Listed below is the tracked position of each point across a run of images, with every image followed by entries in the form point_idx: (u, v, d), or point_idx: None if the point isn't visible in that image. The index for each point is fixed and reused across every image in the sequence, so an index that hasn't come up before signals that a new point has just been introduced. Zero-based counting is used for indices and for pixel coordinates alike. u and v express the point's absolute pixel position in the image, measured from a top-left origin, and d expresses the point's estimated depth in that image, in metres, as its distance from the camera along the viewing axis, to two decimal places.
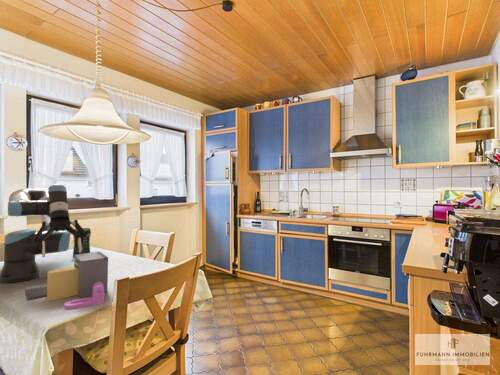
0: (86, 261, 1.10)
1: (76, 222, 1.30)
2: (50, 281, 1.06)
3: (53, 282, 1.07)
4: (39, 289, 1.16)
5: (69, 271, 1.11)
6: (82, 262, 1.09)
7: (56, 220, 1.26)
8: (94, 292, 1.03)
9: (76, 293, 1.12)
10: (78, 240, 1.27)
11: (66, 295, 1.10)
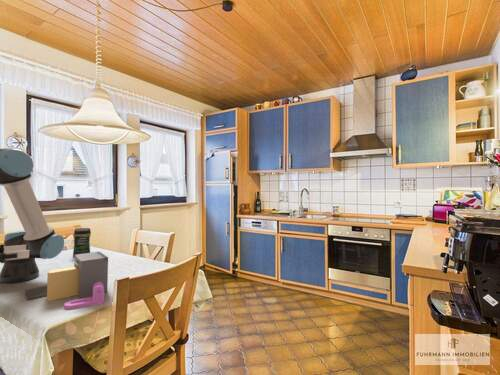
0: (86, 261, 1.10)
1: None
2: (50, 281, 1.06)
3: (53, 282, 1.07)
4: (39, 289, 1.16)
5: (69, 271, 1.11)
6: (82, 262, 1.09)
7: None
8: (94, 292, 1.03)
9: (76, 293, 1.12)
10: None
11: (66, 295, 1.10)
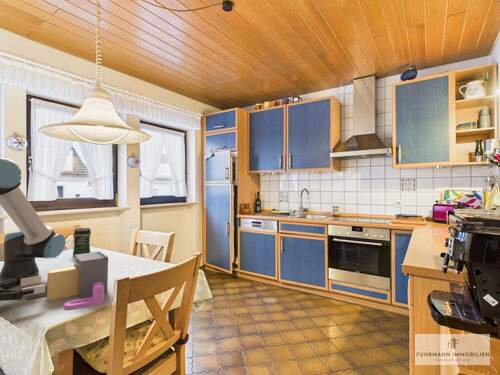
0: (86, 261, 1.10)
1: None
2: (50, 281, 1.06)
3: (53, 282, 1.07)
4: None
5: (69, 271, 1.11)
6: (82, 262, 1.09)
7: None
8: (94, 292, 1.03)
9: (76, 293, 1.12)
10: None
11: (66, 295, 1.10)
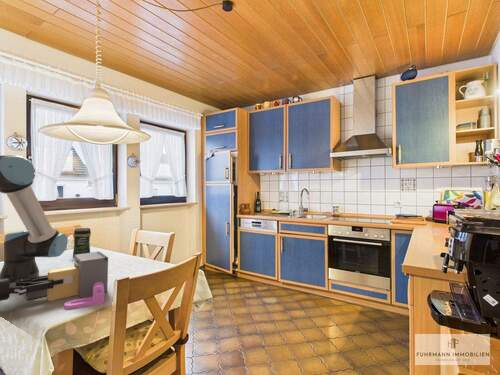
0: (86, 261, 1.10)
1: None
2: None
3: None
4: None
5: (69, 271, 1.11)
6: (82, 262, 1.09)
7: None
8: (94, 292, 1.03)
9: (76, 293, 1.12)
10: None
11: (66, 295, 1.10)
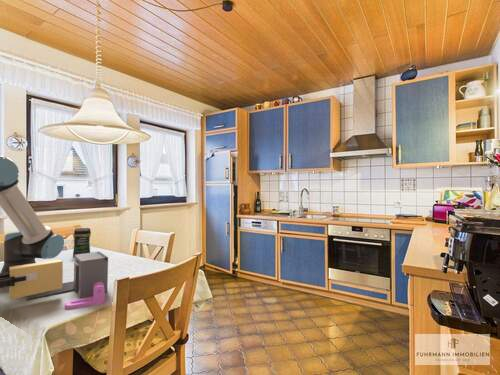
0: (86, 261, 1.10)
1: None
2: None
3: None
4: None
5: (33, 267, 1.03)
6: (82, 262, 1.09)
7: None
8: (94, 292, 1.03)
9: (42, 290, 1.05)
10: None
11: (30, 293, 1.02)
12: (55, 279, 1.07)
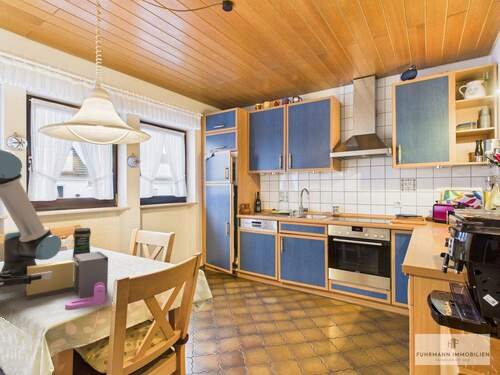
0: (86, 261, 1.10)
1: None
2: None
3: None
4: None
5: (48, 266, 1.14)
6: (82, 262, 1.09)
7: None
8: (95, 292, 1.03)
9: (55, 288, 1.16)
10: None
11: (45, 290, 1.13)
12: (67, 277, 1.18)
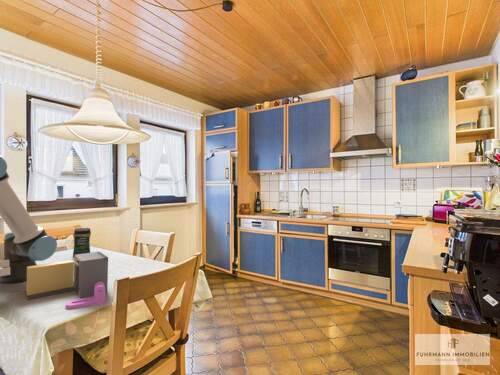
0: (86, 261, 1.10)
1: None
2: (29, 276, 1.10)
3: (32, 277, 1.10)
4: None
5: (48, 266, 1.14)
6: (82, 262, 1.09)
7: None
8: (95, 292, 1.03)
9: (55, 288, 1.16)
10: None
11: (45, 290, 1.13)
12: (67, 277, 1.18)
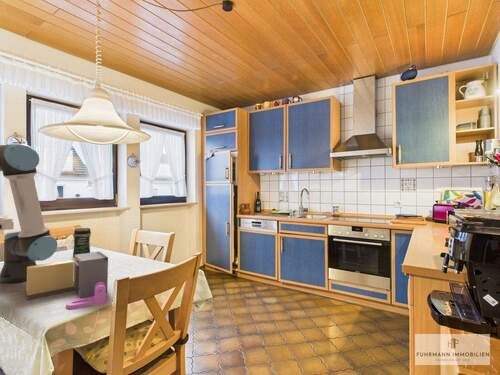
0: (86, 261, 1.10)
1: None
2: (29, 276, 1.10)
3: (32, 277, 1.10)
4: None
5: (48, 266, 1.14)
6: (82, 262, 1.09)
7: None
8: (96, 292, 1.03)
9: (55, 288, 1.16)
10: None
11: (45, 290, 1.13)
12: (67, 277, 1.18)
